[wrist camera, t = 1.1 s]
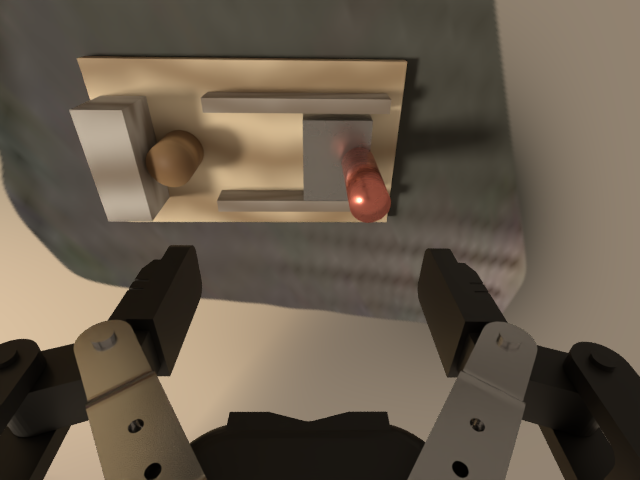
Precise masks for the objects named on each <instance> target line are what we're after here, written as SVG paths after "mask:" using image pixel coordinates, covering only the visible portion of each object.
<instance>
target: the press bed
mask: <svg viewBox="0 0 640 480" xmlns="http://www.w3.org/2000/svg"><path fill="white" fill-rule="evenodd" d="M77 60H78V63H79V66H80V69H81V72H82V75H83V78H84V82H85V85H86V88H87V91H88V94H89V97H90V101H88V102H85V103H83V104H81V105H79V106H77V107H74V108H72V109H70V113H71V116H72V119H73V122H74V125H75V127H76V130H77V133H78V136H79V139H80V142H81V144H82V147H83V150H84V153H85V156H86V159H87V161H88V164H89V167H90V170H91V173H92V175H93V178H94V181H95V184H96V187H97V190H98V192H99V195H100V198H101V201H102V204H103V207H104V209H105V212H106V215H107V218H108V221H129V222H362V221H359V220H357V219H356V218H355V217H354V216H353V215H352V213H351V211H350V207H349V202H348V201H304V186H303V113H304V114H370V116H371V118H372V120H373V128H372V139H371V150H370V152H371V153H372V154H373V156H374V158H375V161H376V163H377V166H378V168H379V171H380V173H381V176H382V178H383V181H384V183H385V186H386V189H387V191H388V194H389V196H390V190H391V183H392V175H393V167H394V160H395V152H396V144H397V137H398V129H399V121H400V114H401V106H402V98H403V91H404V83H405V75H406V68H407V61H405V60H374V59H286V58H198V57H110V56H83V57H79V58H77ZM174 130H184V131H187V132H189V133H191V134H193V135H194V136H195V137H196V138H197V139H198V140H199V141H200V143H201V144H202V147H203V150H204V157H203V161H202V162H201V164H200V165H199V167H198V168H197V170H196V171H195V173H194V174H193V176H192V177H191V179H190V180H189V181H188V182H187V183H186V184H185V185H183V186H180V187H168V186H165V185H163V184H161V183H159V182H157V181H156V180H155V179H154V178H153V177H152V176H151V175H150V173H149V172H148V169H147V167H146V156H147V153H148V152H149V150H150V149H151V148H152V147H153V146H154V145H155V144H157V143H158V142H159V141H160V140H161V139H162V138H163V137H164V136H165V135H166V134H167V133H169V132H171V131H174ZM386 221H387V214H386V215H385V216H384V217H383V218H382V219H380V220H378V221H375V222H386Z"/></svg>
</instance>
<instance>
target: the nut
mask: <svg viewBox="0 0 640 480" xmlns="http://www.w3.org/2000/svg"><path fill="white" fill-rule="evenodd" d="M203 157H204V150H203V147H202V144H201V143H200V141H199V140H198V139H197V138H196V137H195V136H194V135H193V134H191V133H189V132H187V131H184V130H174V131H171V132H169V133H167V134H166V135H165V136H164V137H163V138H162V139H161V140H160V141H159V142H158V143H157V144H155V145H154V146H153V147H152V148H151V149H150V150H149V152H148V153H147V156H146V167H147V169H148V172H149V173H150V175H151V176H152V177H153V178H154V179H155V180H156V181H157V182H159V183H161V184H163V185H165V186H168V187H180V186H183V185H185V184H186V183H187V182H188V181H189V180H190V179H191V177H192V176H193V174H194V173H195V171H196V170H197V168H198V167H199V165H200V164H201V162H202V161H203Z"/></svg>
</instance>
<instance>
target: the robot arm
mask: <svg viewBox="0 0 640 480" xmlns="http://www.w3.org/2000/svg"><path fill="white" fill-rule="evenodd" d="M201 293H202V280H201V275H200V270H199V265H198V259H197V254H196V250H195V247H194V246H190V245H171V246H169V247H168V249H167V251H166V252H165V254H164V256H163V257H162V259H161V260H153V261H152V262H150V263H149V264H148V265H146V266H145V267H144V268H142V269H141V271H140V272H139V274H138V275H137V277H136V278H135V281H133V283H132V284H131V286H130V288H129V290H128V291H127V292H126V294H125V295H124V297H123V298H122V300H121V301H120V303H119V304H118V306H117V307H116V309H115V310H114V312H113V314H112V315H111V316H110V318H109V319H108V321H104V322H101V323H98V324H96V325H93V326H91V327H90V328H88V329H87V330H85V331H84V332H83V333H82V334H81V335H80V336H79V337H78V338H77V340H76V341H75V343H74V344H70V345H66V346H61V347H57V348H53V349H48V350H45V351H41V350H40V348H39V347H38V345H37V343H36V342H34V341H32V340H29V339H17V340H12V341H8V342H5V343H2V344H0V480H43V479H44V477H45V475H46V473H47V471H48V469H49V467H50V465H51V463H52V461H53V459H54V457H55V455H56V454H57V451H58V450H59V447H60V446H61V444H62V442H63V440H64V438H65V436H66V434H67V432H68V430H69V428H70V426H71V425H74V424H77V423H81V422H84V421H88V420H89V422H90V426H91V430H92V433H93V437H94V440H95V445H96V448H97V452H98V456H99V460H100V463H101V467H102V471H103V474H104V478H105V480H505V478H506V474H507V470H508V467H509V463H510V460H511V456H512V453H513V449H514V445H515V442H516V438H517V435H518V431H519V427H520V424H521V420H525V421H528V422H532V423H535V424H538V425H539V427H540V429H541V431H542V433H543V435H544V437H545V439H546V441H547V444H548V445H549V448H550V450H551V452H552V454H553V456H554V458H555V460H556V462H557V464H558V466H559V468H560V470H561V473H562V475H563V477H564V479H565V480H640V377H639V375H638V374H637V373H636V372H635V371H634V369H633V368H632V367H631V366H630V364H629V363H628V362H627V361H626V360H625V359H624V358H623V357H622V356H620V355H619V354H617V353H616V352H614V351H613V350H611V349H609V348H607V347H605V346H602V345H599V344H596V343H592V342H579V343H576V344H574V345H573V346H572V348H571V350H570V352H569V353H566V352H562V351H558V350H553V349H550V348H545V347H542V346H538V345H536V342H535V341H534V339H533V338H532V337H531V335H529V334H528V333H527V332H526V331H524V330H523V329H521V328H520V327H517V326H516V325H513V324H510V323H508V322H507V321H506V319H505V318H504V316H503V314H502V313H501V311H500V310H499V308H498V306H497V305H496V303H495V302H494V300H493V298H492V297H491V295H490V294H489V293H488V290H487V289H486V287H485V285H483V282H482V281H481V279H480V277H479V276H478V274H477V273H476V272H475V271H474V270H473V269H472V268H470V267H469V266H468V265H466V264H465V263H458V262H457V260H456V258H455V257H454V255H453V253H452V252H451V250H450V249H429V248H428V249H426V251H425V254H424V258H423V263H422V268H421V272H420V277H419V282H418V298H419V302H420V304H421V307H422V310H423V313H424V315H425V318H426V321H427V324H428V326H429V329H430V332H431V335H432V337H433V340H434V342H435V345H436V348H437V351H438V354H439V356H440V359H441V362H442V365H443V367H444V370H445V373H446V376H447V377H457V379H456V381H455V383H454V385H453V388H452V390H451V392H450V394H449V396H448V398H447V400H446V402H445V404H444V406H443V408H442V410H441V412H440V414H439V416H438V418H437V420H436V422H435V424H434V427H433V428H432V431H431V432H430V434H429V437H428V439H427V441H426V443H425V442H424V441H423V440H421V439H420V438H418V437H417V436H415V435H414V434H411V433H410V432H408V431H406V430H404V429H402V428H399V427H396V426H392V425H389V420H388V414H387V412H346V413H342V414H338V415H334V416H330V417H327V418H323V419H319V420H315V421H309V422H308V421H302V420H298V419H295V418H290V417H286V416H282V415H278V414H275V413H271V412H230V413H229V418H228V423H227V425H225V426H222V427H219V428H216V429H214V430H211V431H209V432H207V433H205V434H203V435H201V436H200V437H198V438H197V439H195V440H194V441H192V442H191V443H189V441H188V439H187V437H186V435H185V433H184V431H183V429H182V427H181V425H180V423H179V421H178V418H177V416H176V414H175V412H174V410H173V408H172V406H171V404H170V402H169V400H168V398H167V396H166V394H165V392H164V389H163V387H162V385H161V383H160V382H159V379H158V377H157V376H170V375H171V373H172V370H173V368H174V365H175V362H176V360H177V357H178V355H179V352H180V349H181V347H182V344H183V342H184V339H185V337H186V334H187V331H188V329H189V326H190V324H191V321H192V319H193V316H194V313H195V311H196V308H197V306H198V303H199V301H200V298H201ZM600 428H601V429H600ZM605 436H606V437H605ZM610 444H611V445H610Z"/></svg>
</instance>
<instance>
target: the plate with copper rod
mask: <svg viewBox="0 0 640 480" xmlns="http://www.w3.org/2000/svg"><path fill="white" fill-rule="evenodd" d="M372 128H373V120H372V118H371V116H370V114H304V113H303V186H304V201H348V202H349V207H350V211H351V213H352V215H353V216H354V217H355V218H356V219H357V220H359V221H362V222H368V223H369V222H375V221H378V220H380V219H382V218H383V217H384V216H385V215H386V214H387V213H388V211H389V209H390V206H391V199H390V196H389V194H388V191H387V189H386V186H385V183H384V181H383V178H382V176H381V173H380V171H379V168H378V166H377V163H376V161H375V158H374V156H373V154H372V153H371V152H370V150H371V139H372Z"/></svg>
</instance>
